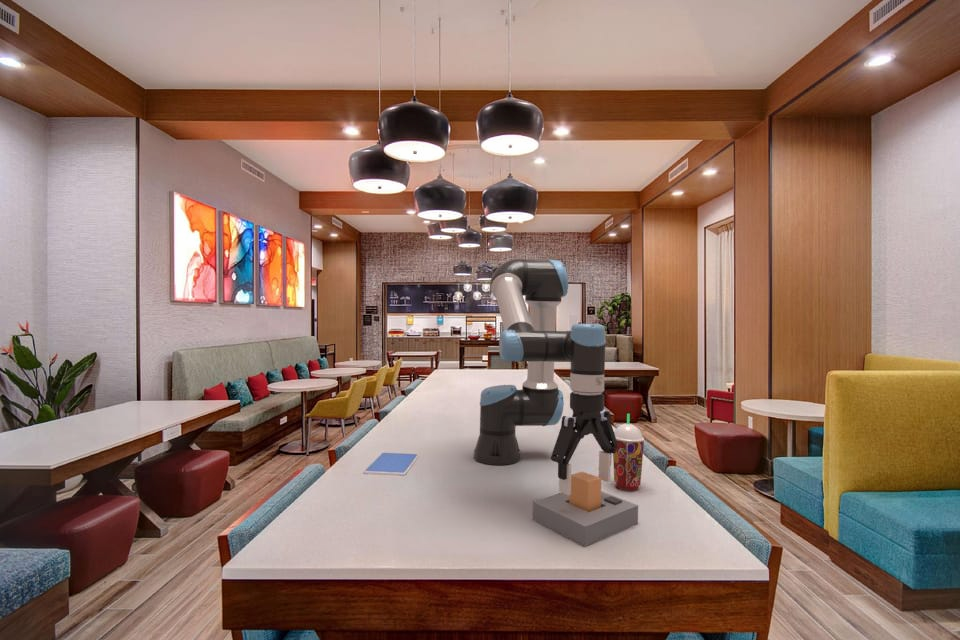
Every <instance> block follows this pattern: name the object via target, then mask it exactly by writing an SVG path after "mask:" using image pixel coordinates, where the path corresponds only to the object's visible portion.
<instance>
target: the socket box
mask: <svg viewBox="0 0 960 640" xmlns="http://www.w3.org/2000/svg"><path fill="white" fill-rule="evenodd" d="M532 520H533V521H535V522H537V523H539V524H541V525H542V526H545V527H547V528H548V529H550V530H553V531H554V532H556V533H559V534H560V535H562V536H564V537H566V538H568V539H569V540H571V541H573V542H576V543H577V544H579V545H581V546H583V547H584V548H585V547H588V546H590V545H592V544H595V543H596V542H599V541H602V540H603V539H605V538H607V537H610V536H612V535H615V534H617V533H619V532H621V531H623V530H626V529H628V528H630V527H633V526H635V525H637V524H638V523H639V504H636V503H633V502H630V501H628V500H626V499H622V498H620V497H617V496H615V495H612V494H610V493H607V492H605V491H602V490H601V508H599V509H596V510H594V511H591V512H587V511H585V510H583V509H581V508H578V507H576V506H574V505H572V504H569V496H568V495H566V494H564V493H561V492H559V493H556V494H553V495H550V496H547V497H543V498H540V499H536V500H534V501H533V502H532Z"/></svg>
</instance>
